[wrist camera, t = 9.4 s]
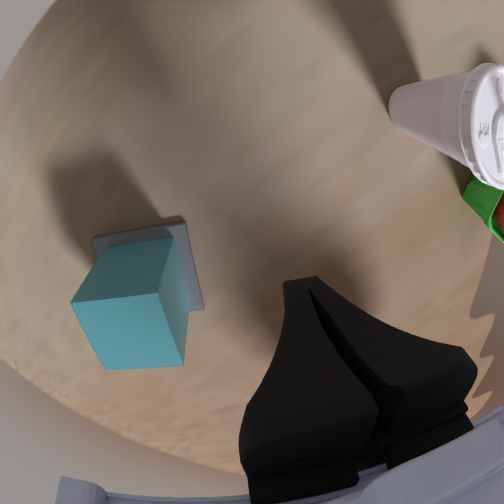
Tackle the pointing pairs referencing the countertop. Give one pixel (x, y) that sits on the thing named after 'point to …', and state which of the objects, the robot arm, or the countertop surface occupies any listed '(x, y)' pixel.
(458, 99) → the smoothie
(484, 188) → the fruit basket
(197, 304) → the grey square base plate
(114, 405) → the countertop surface
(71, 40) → the countertop surface
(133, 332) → the teal foam brick
